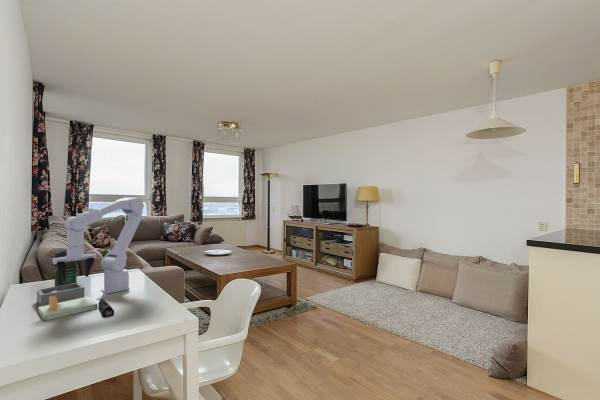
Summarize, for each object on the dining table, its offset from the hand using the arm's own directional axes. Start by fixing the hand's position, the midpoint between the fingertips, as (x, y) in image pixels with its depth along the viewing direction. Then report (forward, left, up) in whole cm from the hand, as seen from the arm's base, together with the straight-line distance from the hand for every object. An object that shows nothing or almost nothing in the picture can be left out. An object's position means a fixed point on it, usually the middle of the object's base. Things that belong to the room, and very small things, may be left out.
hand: (75, 278), depth 124 cm
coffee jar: (-1, -24, -10) cm, 26 cm away
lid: (+4, +10, -9) cm, 14 cm away
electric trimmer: (-5, +21, -10) cm, 23 cm away
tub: (+4, -5, -9) cm, 11 cm away
